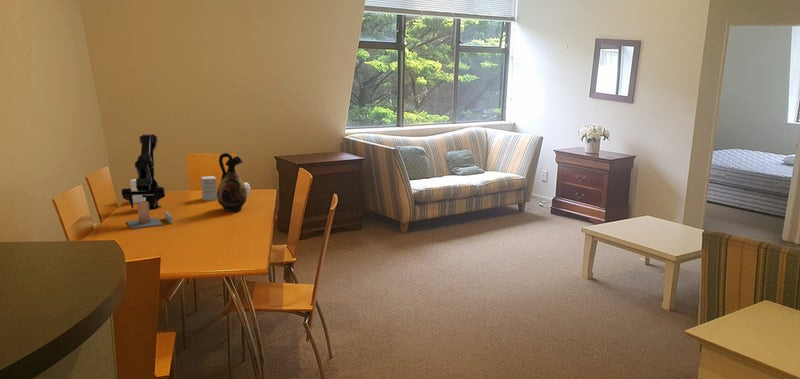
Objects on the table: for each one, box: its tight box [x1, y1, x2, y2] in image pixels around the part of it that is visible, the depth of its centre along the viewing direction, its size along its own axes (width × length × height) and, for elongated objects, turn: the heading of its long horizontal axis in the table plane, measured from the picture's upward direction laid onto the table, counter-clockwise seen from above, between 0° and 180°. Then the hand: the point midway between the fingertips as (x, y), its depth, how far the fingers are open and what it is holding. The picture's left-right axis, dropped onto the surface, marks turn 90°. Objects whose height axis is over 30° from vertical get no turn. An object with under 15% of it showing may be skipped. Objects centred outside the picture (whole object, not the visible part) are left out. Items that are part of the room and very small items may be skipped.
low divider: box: [164, 210, 173, 225], centre depth 289 cm, size 12×1×4 cm, turn 32°
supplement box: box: [200, 175, 218, 202], centre depth 335 cm, size 7×7×13 cm
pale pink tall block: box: [136, 201, 151, 224], centre depth 283 cm, size 5×5×10 cm
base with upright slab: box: [129, 178, 146, 204], centre depth 327 cm, size 9×9×12 cm
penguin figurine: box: [243, 182, 251, 198], centre depth 340 cm, size 6×8×12 cm
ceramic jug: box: [216, 152, 248, 213], centre depth 310 cm, size 17×15×30 cm
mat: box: [126, 217, 164, 230], centre depth 284 cm, size 14×14×1 cm
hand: (143, 207), depth 281 cm, fingers open, 9 cm apart
